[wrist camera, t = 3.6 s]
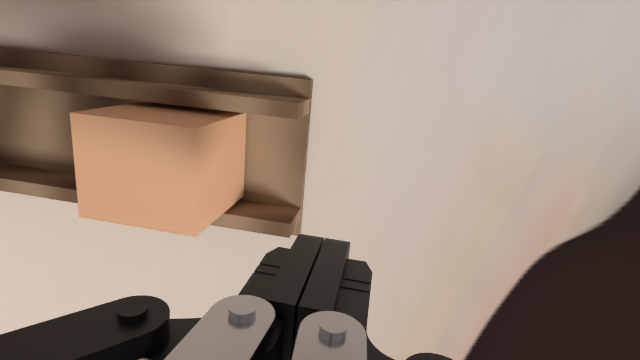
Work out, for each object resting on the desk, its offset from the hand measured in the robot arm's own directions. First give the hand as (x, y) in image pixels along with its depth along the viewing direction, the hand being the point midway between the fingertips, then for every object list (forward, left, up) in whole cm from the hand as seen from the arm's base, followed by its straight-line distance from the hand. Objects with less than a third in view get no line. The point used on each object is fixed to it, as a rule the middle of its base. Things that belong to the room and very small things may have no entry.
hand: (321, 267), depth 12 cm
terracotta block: (+10, 0, -12) cm, 15 cm away
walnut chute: (+16, 0, -12) cm, 20 cm away
